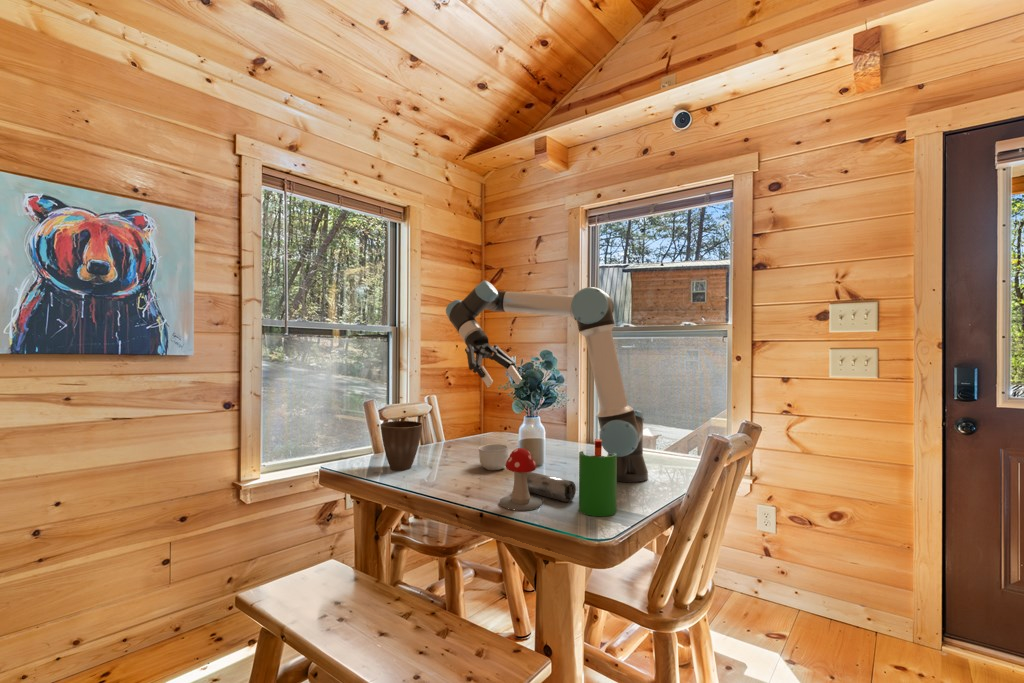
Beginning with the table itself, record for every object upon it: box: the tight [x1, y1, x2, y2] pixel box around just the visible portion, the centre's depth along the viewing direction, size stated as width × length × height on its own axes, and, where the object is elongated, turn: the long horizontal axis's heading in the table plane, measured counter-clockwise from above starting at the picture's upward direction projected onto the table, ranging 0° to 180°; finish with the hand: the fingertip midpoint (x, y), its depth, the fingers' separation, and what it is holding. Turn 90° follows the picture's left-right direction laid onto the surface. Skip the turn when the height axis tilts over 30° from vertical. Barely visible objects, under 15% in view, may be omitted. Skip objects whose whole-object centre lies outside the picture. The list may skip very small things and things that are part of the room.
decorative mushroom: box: [504, 447, 537, 504], centre depth 148 cm, size 10×9×15 cm
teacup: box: [478, 443, 509, 471], centre depth 191 cm, size 14×11×8 cm
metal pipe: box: [527, 471, 577, 503], centre depth 156 cm, size 6×18×6 cm, turn 47°
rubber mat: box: [499, 495, 543, 511], centre depth 148 cm, size 12×12×1 cm
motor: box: [578, 438, 618, 517], centre depth 142 cm, size 10×9×20 cm
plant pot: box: [380, 420, 423, 471], centre depth 189 cm, size 15×15×16 cm
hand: (505, 383), depth 169 cm, fingers open, 13 cm apart
